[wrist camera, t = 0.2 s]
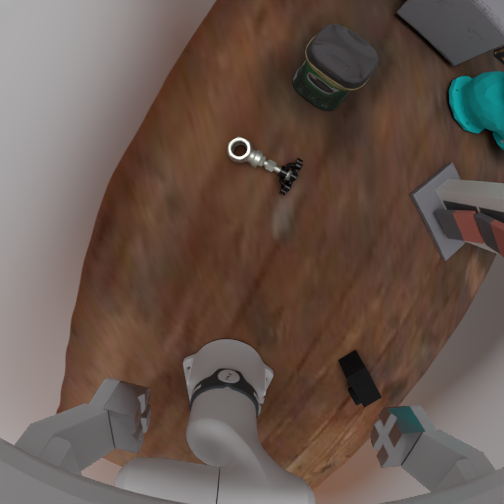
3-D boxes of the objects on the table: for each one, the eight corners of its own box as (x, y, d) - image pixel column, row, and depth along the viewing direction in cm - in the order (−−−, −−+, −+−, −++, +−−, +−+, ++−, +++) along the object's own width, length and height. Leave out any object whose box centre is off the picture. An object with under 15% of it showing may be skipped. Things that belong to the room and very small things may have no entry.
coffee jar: (352, 87, 50) (393, 54, 32) (328, 118, 52) (364, 93, 34) (309, 56, 49) (333, 10, 31) (284, 85, 50) (300, 46, 32)
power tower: (448, 162, 53) (543, 164, 27) (477, 226, 56) (565, 255, 30) (409, 194, 55) (502, 211, 29) (441, 258, 58) (526, 304, 32)
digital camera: (332, 362, 63) (340, 381, 56) (355, 349, 62) (365, 366, 55) (351, 391, 65) (359, 410, 58) (371, 379, 64) (381, 397, 57)
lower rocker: (438, 209, 52) (475, 210, 42) (450, 234, 53) (486, 239, 43) (435, 213, 52) (471, 214, 42) (447, 238, 53) (482, 243, 43)
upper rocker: (479, 211, 41) (512, 228, 32) (490, 241, 42) (522, 261, 33) (474, 215, 41) (507, 232, 32) (485, 244, 43) (517, 266, 33)
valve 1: (221, 163, 54) (282, 194, 55) (217, 161, 47) (286, 196, 49) (238, 130, 52) (299, 161, 54) (237, 124, 46) (306, 159, 47)
